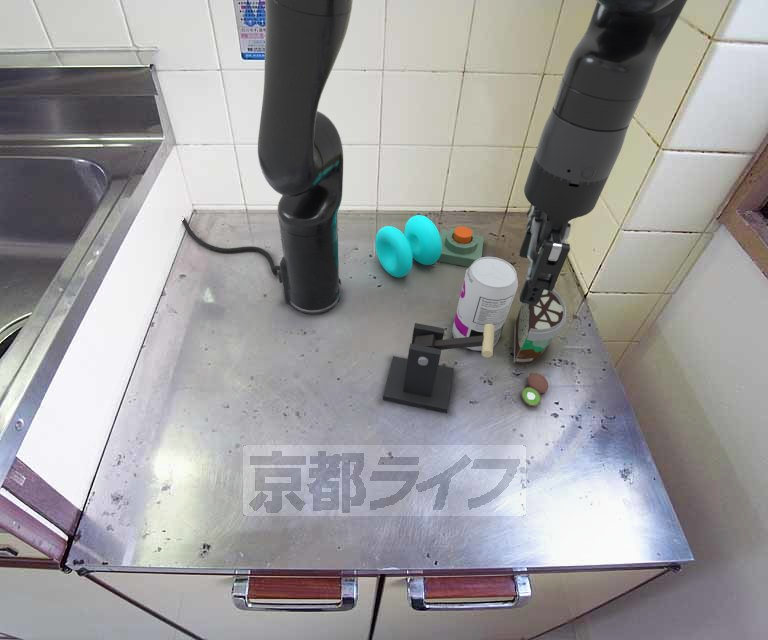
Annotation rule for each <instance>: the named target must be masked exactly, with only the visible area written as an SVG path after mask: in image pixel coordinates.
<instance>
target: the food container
mask: <svg viewBox="0 0 768 640" xmlns="http://www.w3.org/2000/svg"><path fill="white" fill-rule="evenodd" d="M566 320H567V307H566V304H565V301H564V300H563V298H562V297H561V295H560V294H559V293H558V292H557V291H556V290H555V289H553V290H552V291H547V290H544V291H543V293H542V296H541V298H540V300H539V302H538V304H536V305H532V304H526V303H521V304H520V307H519V310H518V312H517V316H516V318H515V321H514V330H513V331H514V332H513V334H514V336H513V339H514V340H513V342H514V343H513V364H515V365H528V364H529V365H530V364H531V363H534V362H537V360H539V359H540V357H542V356H543V354H544V352H545V350H546V349H547V347H548V346H549V344H550V343H551V341H552V340H553V338H555V337H557V336H558V335H559V334H560V333H561V332H562V331H563V329H564V328H565V325H566Z"/></svg>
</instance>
